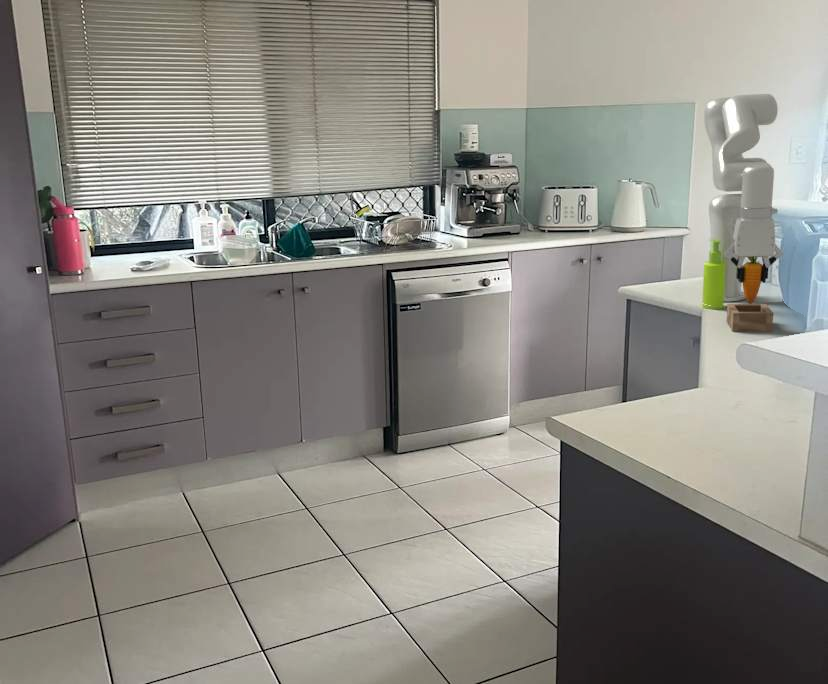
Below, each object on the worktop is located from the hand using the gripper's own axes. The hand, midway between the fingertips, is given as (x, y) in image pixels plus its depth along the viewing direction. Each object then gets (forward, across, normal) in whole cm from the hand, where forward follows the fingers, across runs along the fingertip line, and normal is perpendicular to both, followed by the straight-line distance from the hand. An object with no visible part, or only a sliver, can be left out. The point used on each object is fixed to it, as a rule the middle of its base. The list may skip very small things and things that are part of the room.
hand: (751, 280), depth 224 cm
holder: (+13, 0, 0) cm, 13 cm away
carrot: (+7, 0, 0) cm, 7 cm away
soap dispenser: (+13, +6, -22) cm, 26 cm away
